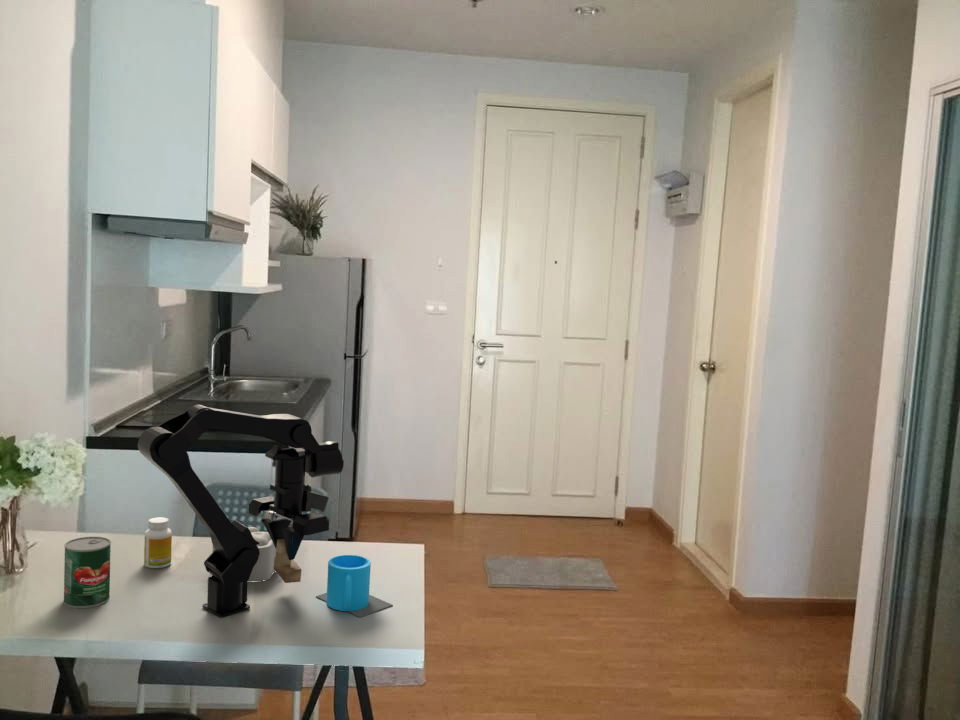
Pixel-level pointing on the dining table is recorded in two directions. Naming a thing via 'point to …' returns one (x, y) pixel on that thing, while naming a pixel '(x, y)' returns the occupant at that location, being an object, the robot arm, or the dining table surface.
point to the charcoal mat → (372, 606)
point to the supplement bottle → (157, 543)
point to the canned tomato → (87, 572)
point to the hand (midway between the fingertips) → (286, 557)
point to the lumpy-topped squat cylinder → (263, 556)
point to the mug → (348, 582)
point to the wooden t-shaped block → (286, 564)
